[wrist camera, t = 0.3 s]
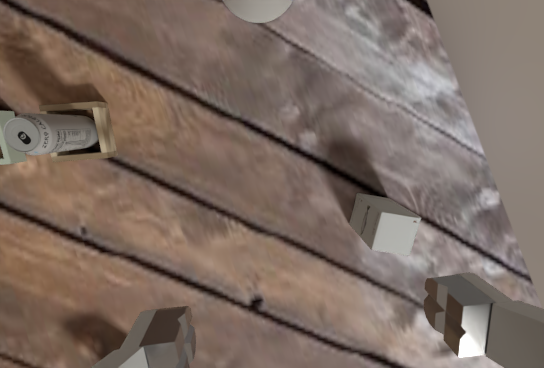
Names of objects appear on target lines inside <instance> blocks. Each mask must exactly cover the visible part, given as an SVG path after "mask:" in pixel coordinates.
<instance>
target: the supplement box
mask: <svg viewBox="0 0 544 368" xmlns="http://www.w3.org/2000/svg"><path fill="white" fill-rule="evenodd" d="M420 220H421V217H419V216H418V215H416V214H414V213H413V212H411V211H409V210H408V209H406V208H404V207H403V206H401V205H399V204H397V203H396V202H394V201H392V200H391V199H389V198H384V197H378V196H373V195H367V194H361V193H357V195H356V200H355V204H354V208H353V212H352V216H351V219H350V223H349V225H350V226H351V227H352V228H353V229H354V230H355V232H356V233H357V234H358V235H359V236H360V237H361V238H362V240H363V241H364V242H365V243H366V244H367V245H368V246H369V247H370V249H371V250H375V251H382V252H388V253H394V254H399V255H405V256H409V255H410V253H411V249H412V246H413V243H414V240H415V237H416V233H417V230H418V226H419V223H420Z"/></svg>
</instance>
